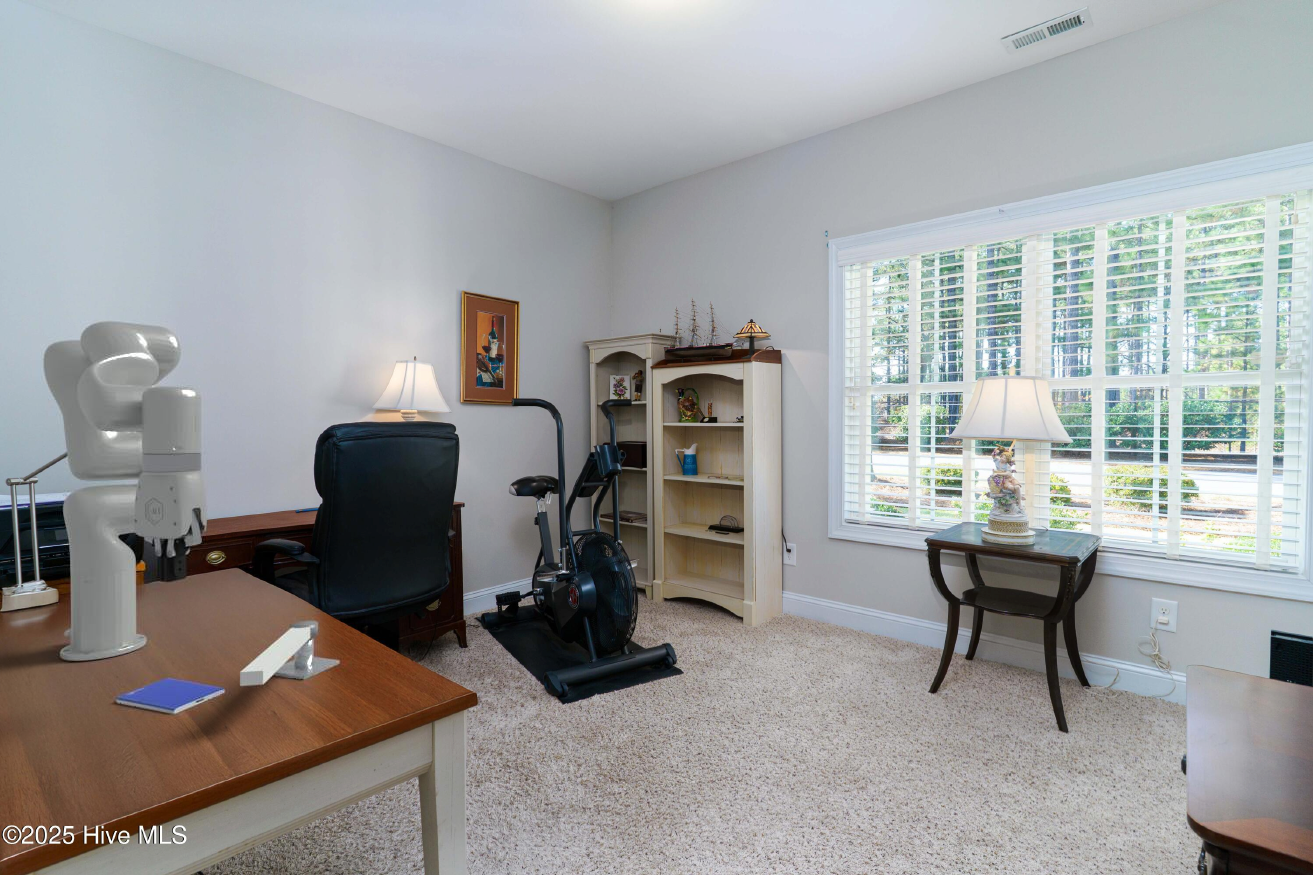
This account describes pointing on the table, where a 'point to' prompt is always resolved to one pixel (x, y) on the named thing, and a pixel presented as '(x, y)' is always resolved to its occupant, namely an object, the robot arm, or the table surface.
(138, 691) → the hard drive
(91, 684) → the table surface
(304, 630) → the bar
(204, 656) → the table surface
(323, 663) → the metal stand base
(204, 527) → the robot arm
